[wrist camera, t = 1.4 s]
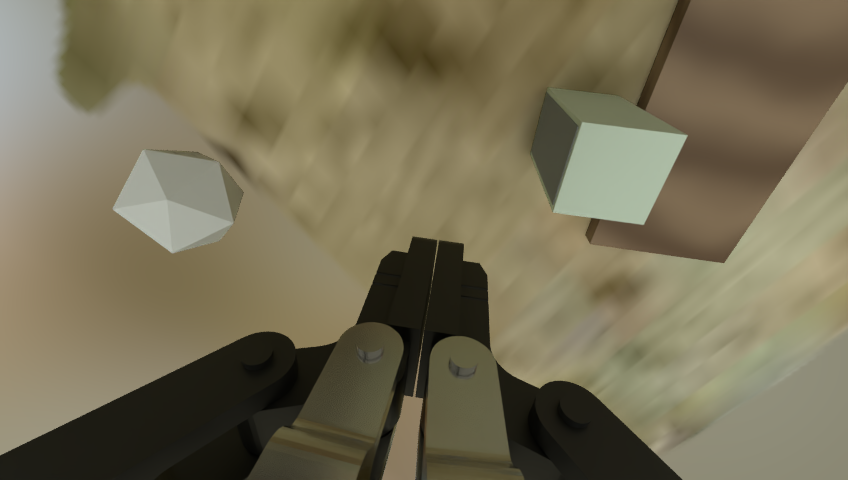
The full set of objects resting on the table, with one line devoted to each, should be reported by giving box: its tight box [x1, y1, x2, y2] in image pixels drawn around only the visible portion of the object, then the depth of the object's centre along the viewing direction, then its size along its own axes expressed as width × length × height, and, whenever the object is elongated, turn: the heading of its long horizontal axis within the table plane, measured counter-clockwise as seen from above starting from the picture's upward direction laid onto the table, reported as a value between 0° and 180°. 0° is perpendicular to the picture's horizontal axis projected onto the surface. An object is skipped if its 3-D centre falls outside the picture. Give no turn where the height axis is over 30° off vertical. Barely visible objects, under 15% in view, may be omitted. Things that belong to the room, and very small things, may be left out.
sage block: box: [530, 87, 688, 225], centre depth 23 cm, size 5×5×10 cm
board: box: [586, 0, 848, 263], centre depth 26 cm, size 18×11×2 cm, turn 175°
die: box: [113, 149, 243, 253], centre depth 30 cm, size 8×9×10 cm
